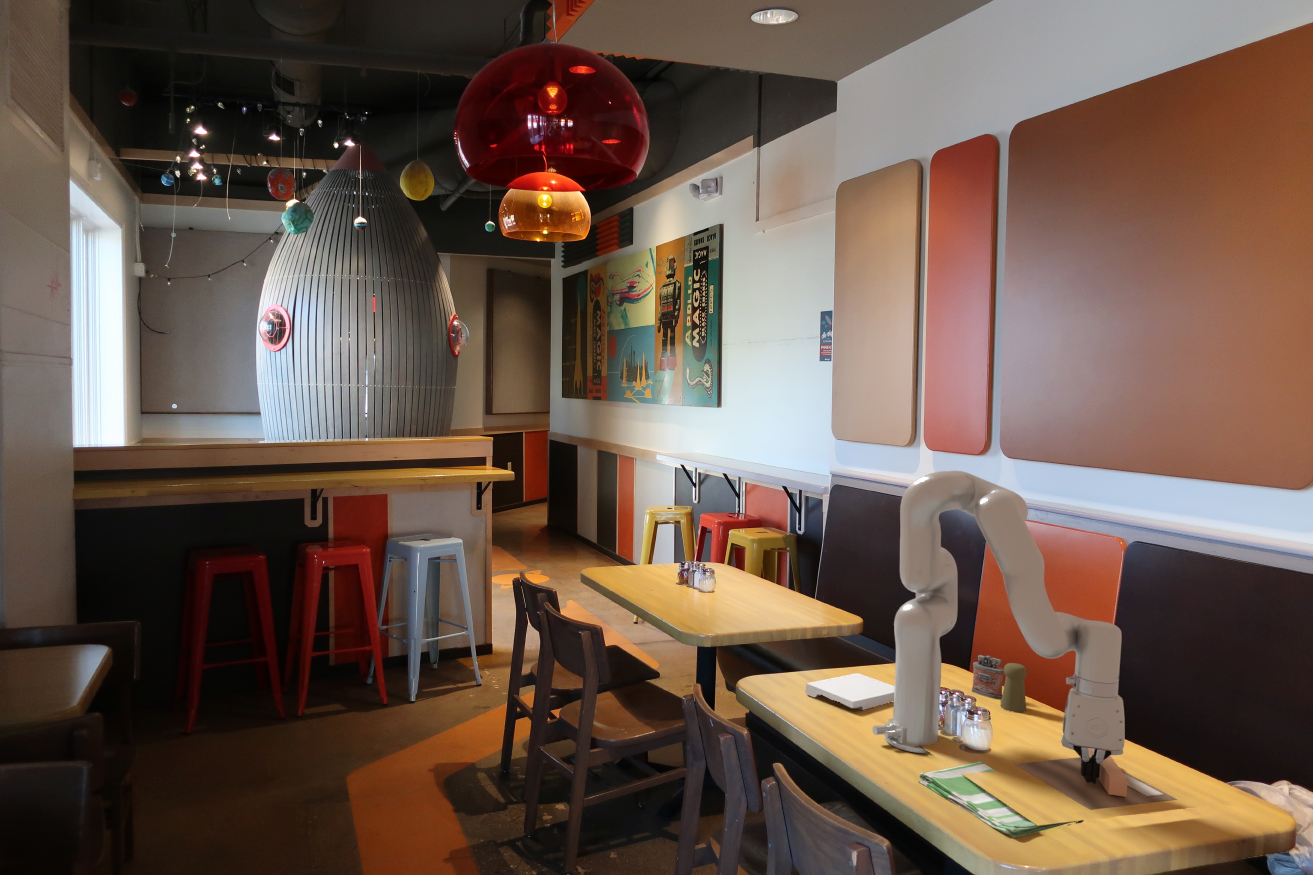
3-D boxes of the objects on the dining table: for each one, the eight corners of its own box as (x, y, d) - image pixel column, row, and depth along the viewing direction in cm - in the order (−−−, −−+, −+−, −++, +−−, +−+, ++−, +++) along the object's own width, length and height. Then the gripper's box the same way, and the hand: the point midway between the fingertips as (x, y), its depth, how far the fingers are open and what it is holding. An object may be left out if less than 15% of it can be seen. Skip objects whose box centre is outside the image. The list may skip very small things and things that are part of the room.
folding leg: (1081, 756, 175) (1082, 736, 175) (1100, 759, 174) (1101, 738, 174) (1107, 794, 158) (1108, 771, 158) (1128, 796, 157) (1129, 774, 157)
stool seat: (1089, 817, 152) (1090, 808, 152) (1013, 770, 171) (1014, 762, 171) (1176, 806, 158) (1177, 797, 158) (1093, 762, 177) (1094, 754, 177)
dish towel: (1011, 842, 143) (1012, 827, 143) (915, 784, 164) (915, 771, 164) (1083, 824, 150) (1084, 809, 150) (982, 771, 172) (983, 758, 171)
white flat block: (856, 685, 225) (805, 696, 213) (857, 672, 225) (806, 683, 213) (903, 702, 213) (851, 715, 201) (904, 689, 213) (852, 701, 201)
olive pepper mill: (1029, 713, 206) (1031, 668, 205) (1002, 710, 207) (1005, 666, 206) (1023, 705, 212) (1025, 661, 211) (998, 702, 213) (1000, 659, 212)
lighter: (969, 691, 221) (971, 653, 220) (975, 688, 223) (977, 651, 223) (998, 700, 215) (1000, 661, 214) (1005, 697, 217) (1007, 659, 216)
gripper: (1057, 687, 160) (1050, 781, 161) (1144, 698, 156) (1137, 795, 157) (1050, 675, 167) (1044, 766, 168) (1133, 685, 163) (1127, 778, 164)
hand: (1089, 779), depth 163 cm, fingers closed
